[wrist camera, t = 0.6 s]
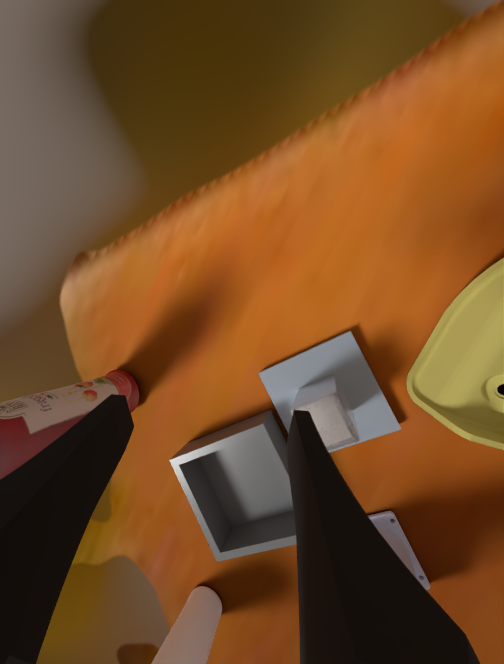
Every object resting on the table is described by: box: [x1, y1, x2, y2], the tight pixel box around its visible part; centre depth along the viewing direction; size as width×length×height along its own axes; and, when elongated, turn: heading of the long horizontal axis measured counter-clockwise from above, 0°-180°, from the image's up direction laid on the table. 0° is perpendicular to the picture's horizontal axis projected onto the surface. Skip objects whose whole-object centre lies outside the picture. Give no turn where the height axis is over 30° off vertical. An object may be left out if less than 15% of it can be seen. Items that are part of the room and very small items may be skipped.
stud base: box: [258, 330, 401, 453], centre depth 29 cm, size 12×12×6 cm
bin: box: [170, 409, 297, 562], centre depth 33 cm, size 14×14×4 cm
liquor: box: [0, 370, 139, 479], centre depth 27 cm, size 7×7×28 cm
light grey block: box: [290, 374, 360, 451], centre depth 27 cm, size 5×5×7 cm
